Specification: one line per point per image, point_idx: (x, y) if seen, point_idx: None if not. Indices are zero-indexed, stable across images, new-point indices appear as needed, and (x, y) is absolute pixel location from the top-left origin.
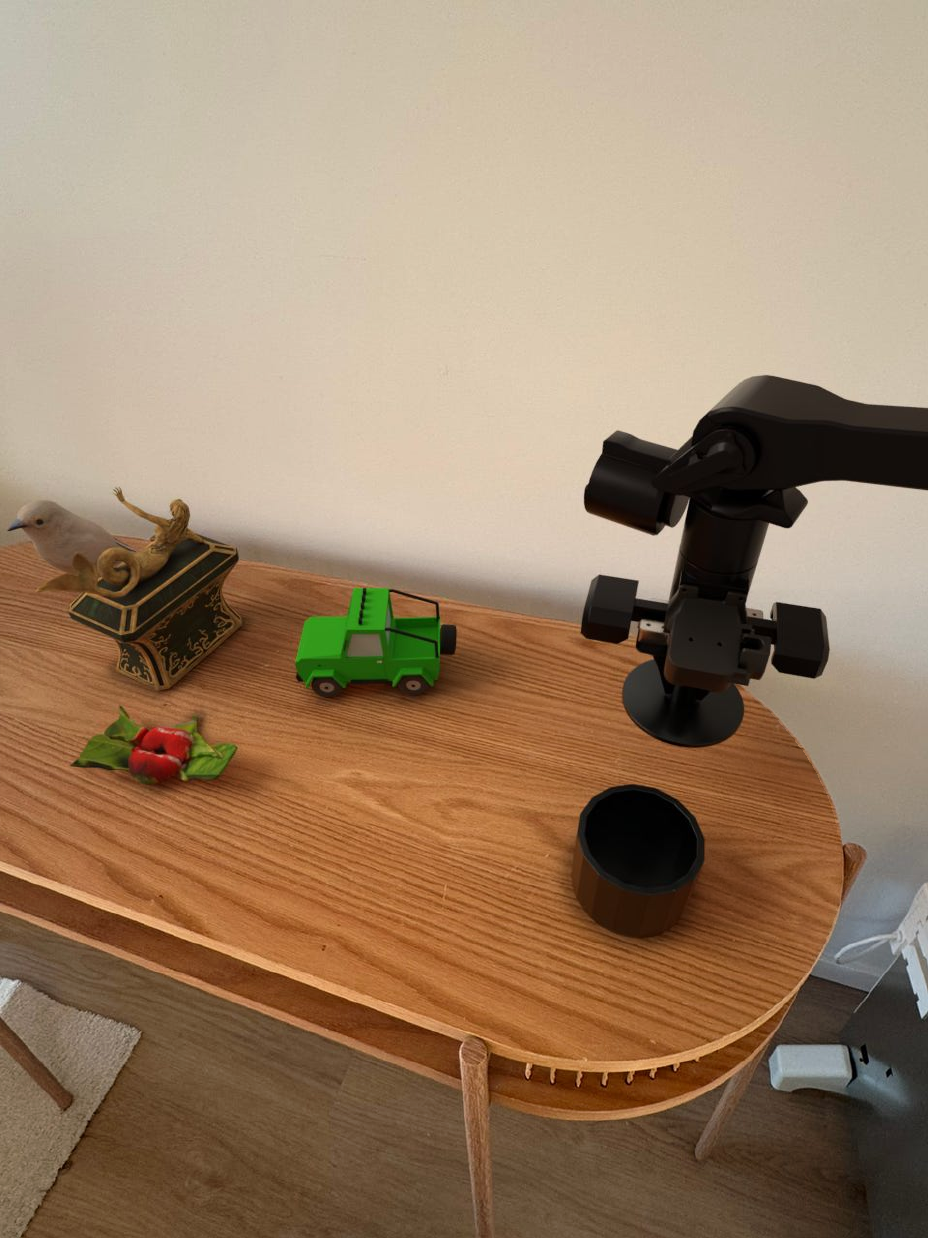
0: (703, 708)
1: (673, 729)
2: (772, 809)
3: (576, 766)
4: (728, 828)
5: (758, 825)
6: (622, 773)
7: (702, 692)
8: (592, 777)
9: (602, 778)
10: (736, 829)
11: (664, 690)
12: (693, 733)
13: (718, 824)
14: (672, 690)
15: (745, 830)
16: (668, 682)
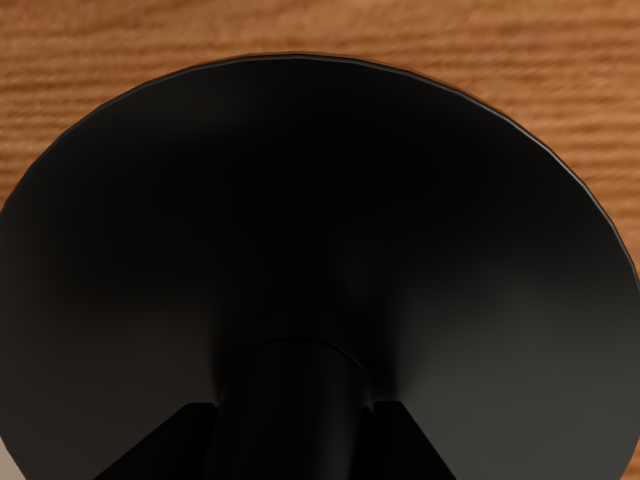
0: (177, 362)
1: (309, 159)
2: (6, 136)
3: (633, 99)
4: (104, 16)
5: (26, 62)
6: None
7: (166, 450)
8: (570, 70)
9: (534, 78)
10: (81, 22)
11: (411, 417)
12: (186, 165)
13: (136, 21)
14: (361, 427)
15: (56, 28)
16: (403, 476)
